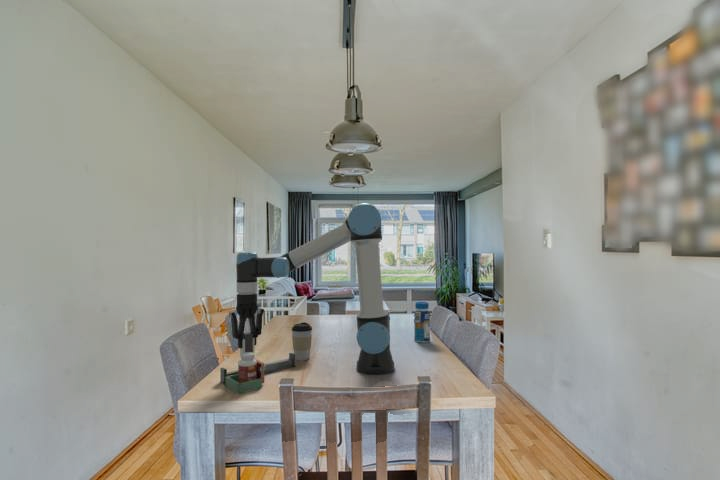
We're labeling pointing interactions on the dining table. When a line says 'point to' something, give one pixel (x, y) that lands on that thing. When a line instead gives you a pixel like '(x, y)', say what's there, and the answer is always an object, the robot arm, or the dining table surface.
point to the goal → (242, 384)
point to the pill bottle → (247, 367)
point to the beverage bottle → (422, 322)
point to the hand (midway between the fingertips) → (247, 355)
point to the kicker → (260, 365)
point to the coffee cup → (302, 340)
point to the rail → (268, 367)
